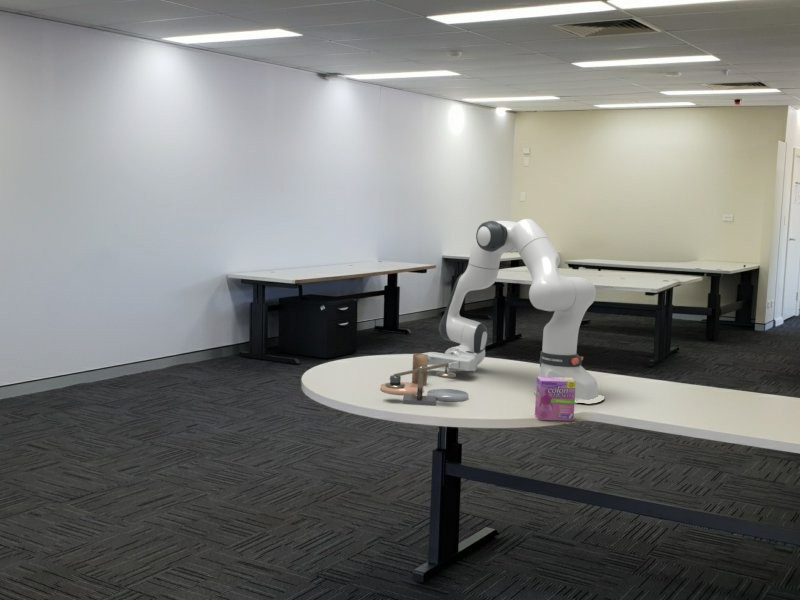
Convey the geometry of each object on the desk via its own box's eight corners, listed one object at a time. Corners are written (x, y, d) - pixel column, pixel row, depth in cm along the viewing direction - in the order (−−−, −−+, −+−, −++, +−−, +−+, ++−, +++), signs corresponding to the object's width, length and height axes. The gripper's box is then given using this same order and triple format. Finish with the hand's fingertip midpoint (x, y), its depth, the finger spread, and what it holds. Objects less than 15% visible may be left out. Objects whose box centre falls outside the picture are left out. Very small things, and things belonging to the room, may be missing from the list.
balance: (454, 401, 260) (456, 361, 259) (454, 406, 253) (456, 365, 252) (385, 397, 261) (387, 357, 260) (384, 402, 254) (385, 361, 253)
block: (429, 384, 284) (430, 355, 283) (421, 386, 280) (422, 356, 279) (416, 382, 287) (418, 353, 286) (408, 384, 283) (410, 355, 281)
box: (538, 420, 241) (540, 380, 240) (534, 415, 246) (536, 376, 245) (574, 421, 241) (576, 381, 240) (569, 416, 247) (572, 377, 246)
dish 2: (475, 396, 268) (475, 393, 267) (455, 403, 257) (455, 400, 257) (440, 390, 275) (440, 387, 275) (419, 397, 264) (419, 393, 264)
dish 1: (431, 390, 275) (431, 386, 275) (408, 397, 263) (408, 393, 263) (396, 383, 282) (396, 380, 282) (372, 390, 271) (372, 386, 271)
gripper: (432, 346, 308) (411, 351, 297) (481, 354, 297) (461, 358, 286) (431, 363, 309) (410, 368, 298) (480, 371, 298) (461, 377, 286)
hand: (436, 364), depth 292 cm, fingers open, 8 cm apart
